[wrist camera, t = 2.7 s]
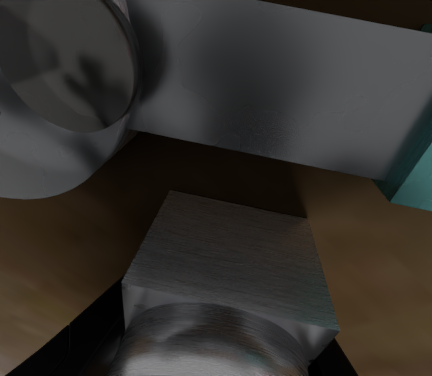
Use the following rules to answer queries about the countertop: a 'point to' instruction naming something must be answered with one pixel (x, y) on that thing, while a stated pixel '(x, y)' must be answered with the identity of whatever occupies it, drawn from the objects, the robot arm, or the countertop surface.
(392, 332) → the countertop surface
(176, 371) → the cylinder with square end
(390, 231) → the countertop surface
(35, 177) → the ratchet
